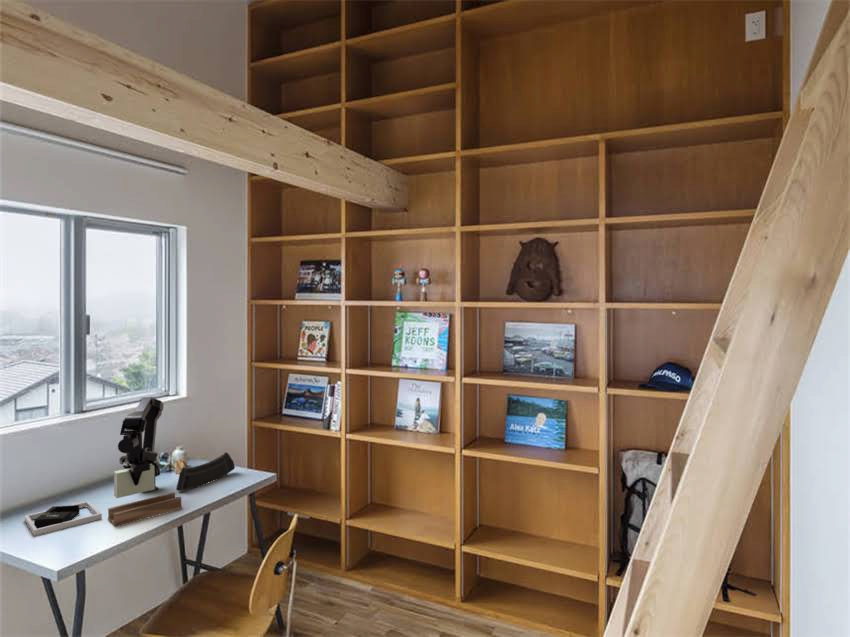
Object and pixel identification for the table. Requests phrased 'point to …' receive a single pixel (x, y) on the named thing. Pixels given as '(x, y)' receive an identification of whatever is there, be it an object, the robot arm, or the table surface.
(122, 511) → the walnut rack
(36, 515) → the grey frame
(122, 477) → the green book
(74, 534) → the table surface
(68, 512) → the battery charger
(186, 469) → the magazine
